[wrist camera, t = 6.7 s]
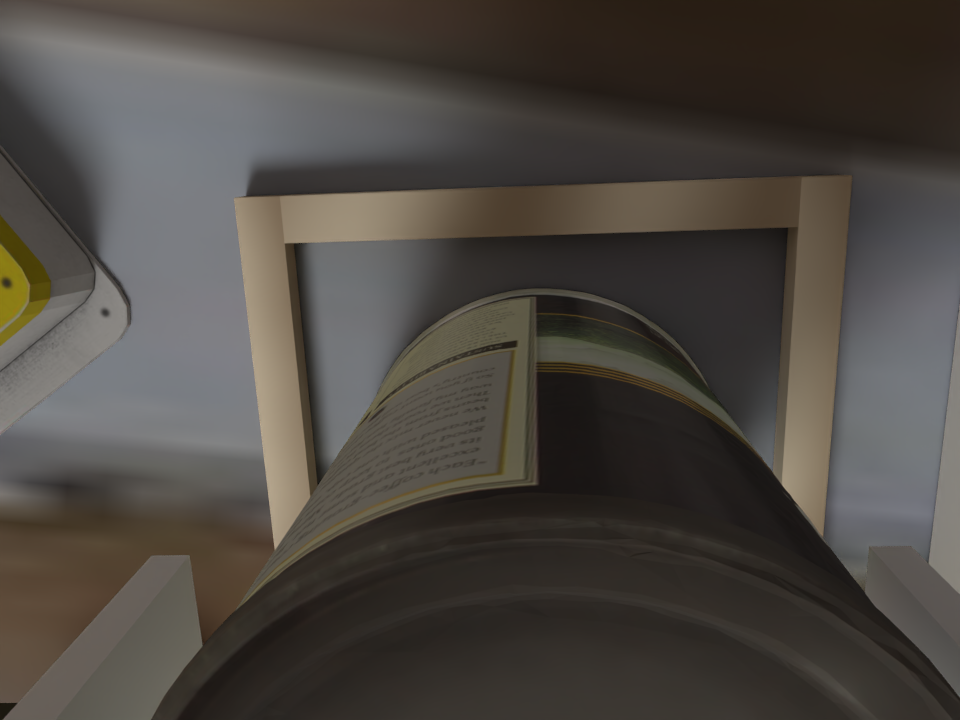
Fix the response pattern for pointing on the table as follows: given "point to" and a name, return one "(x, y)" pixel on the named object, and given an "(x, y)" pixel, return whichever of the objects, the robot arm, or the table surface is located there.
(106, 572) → the table surface
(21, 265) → the emergency button
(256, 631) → the coffee can
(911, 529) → the table surface
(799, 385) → the frame
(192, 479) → the table surface
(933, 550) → the dome base
